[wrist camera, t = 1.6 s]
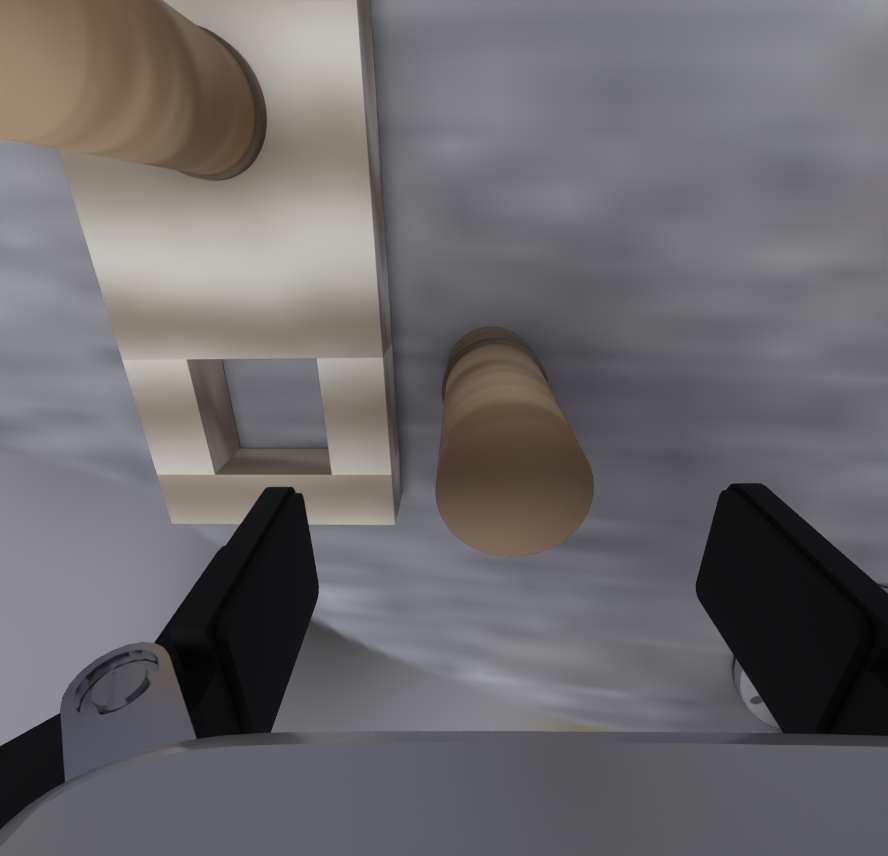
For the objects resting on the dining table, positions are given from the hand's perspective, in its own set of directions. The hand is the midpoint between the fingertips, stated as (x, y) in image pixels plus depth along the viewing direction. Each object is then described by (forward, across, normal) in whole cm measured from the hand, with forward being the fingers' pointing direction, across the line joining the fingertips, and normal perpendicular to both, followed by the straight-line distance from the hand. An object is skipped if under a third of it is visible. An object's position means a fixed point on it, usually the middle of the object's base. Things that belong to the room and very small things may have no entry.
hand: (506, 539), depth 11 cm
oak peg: (+14, -1, +1) cm, 15 cm away
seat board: (+15, +10, -4) cm, 18 cm away
